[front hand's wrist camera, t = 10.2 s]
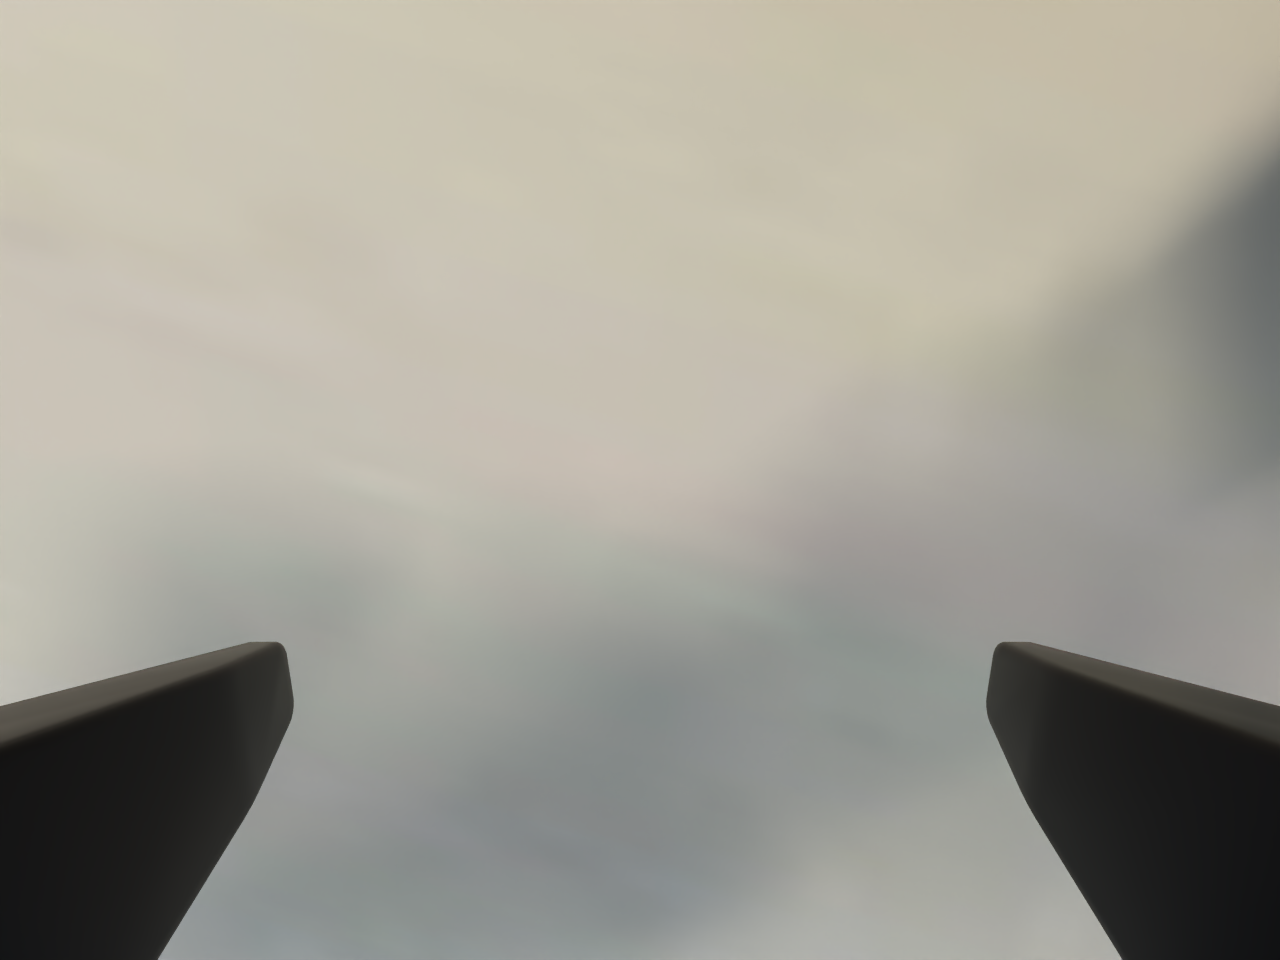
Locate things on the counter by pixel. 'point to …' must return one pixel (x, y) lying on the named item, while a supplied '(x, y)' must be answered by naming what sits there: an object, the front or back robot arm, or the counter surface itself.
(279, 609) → the counter surface
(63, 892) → the front robot arm
